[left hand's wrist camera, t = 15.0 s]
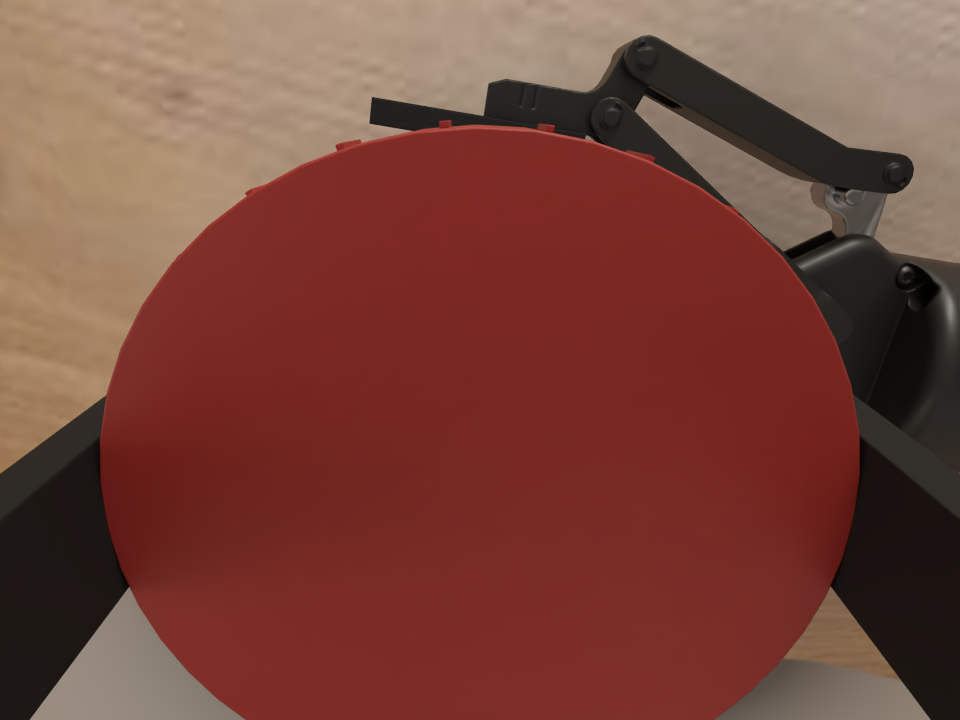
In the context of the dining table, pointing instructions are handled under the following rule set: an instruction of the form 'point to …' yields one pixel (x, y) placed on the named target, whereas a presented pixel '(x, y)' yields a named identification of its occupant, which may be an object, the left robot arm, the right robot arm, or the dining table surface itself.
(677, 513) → the lid
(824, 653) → the dining table surface
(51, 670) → the left robot arm
